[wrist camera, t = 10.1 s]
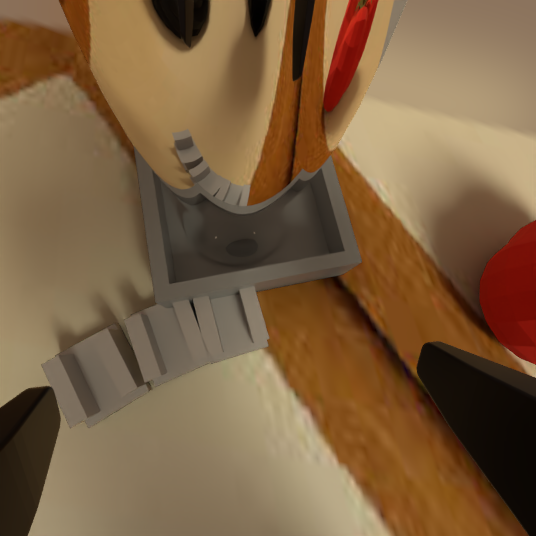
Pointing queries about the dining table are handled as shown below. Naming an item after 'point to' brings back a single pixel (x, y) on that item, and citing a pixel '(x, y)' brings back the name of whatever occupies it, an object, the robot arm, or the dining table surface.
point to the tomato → (513, 294)
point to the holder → (257, 273)
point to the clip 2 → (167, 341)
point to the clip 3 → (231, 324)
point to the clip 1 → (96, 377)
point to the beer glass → (234, 99)
